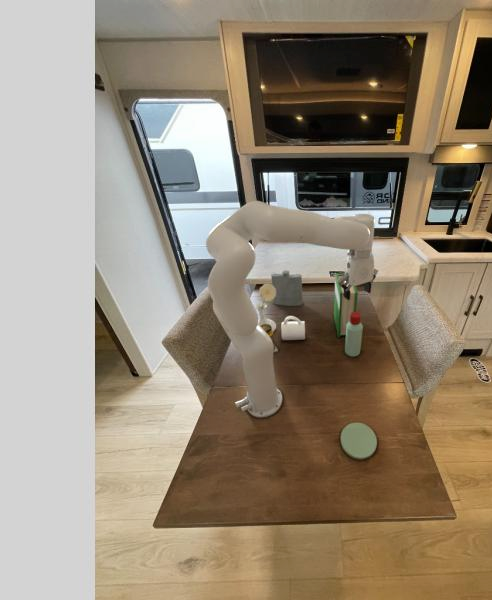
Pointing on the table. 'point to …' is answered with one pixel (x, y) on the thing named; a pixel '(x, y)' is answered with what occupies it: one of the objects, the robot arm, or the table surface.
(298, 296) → the hip flask
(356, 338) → the bottle
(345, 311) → the hardback book
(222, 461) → the table surface
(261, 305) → the flower in vase
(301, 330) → the mug
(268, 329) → the condiment
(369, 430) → the coaster
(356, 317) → the cap
